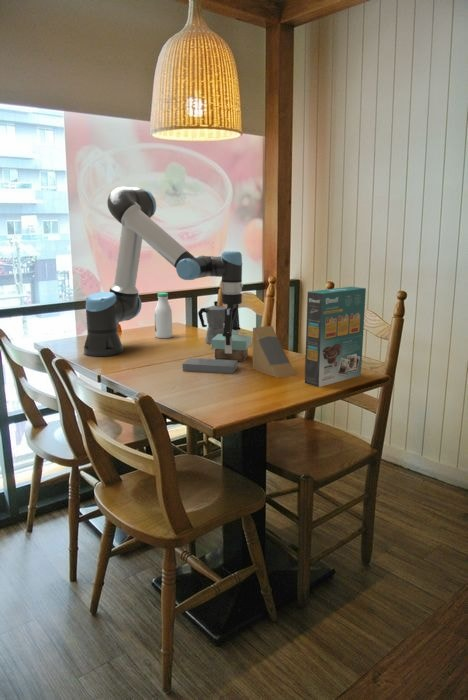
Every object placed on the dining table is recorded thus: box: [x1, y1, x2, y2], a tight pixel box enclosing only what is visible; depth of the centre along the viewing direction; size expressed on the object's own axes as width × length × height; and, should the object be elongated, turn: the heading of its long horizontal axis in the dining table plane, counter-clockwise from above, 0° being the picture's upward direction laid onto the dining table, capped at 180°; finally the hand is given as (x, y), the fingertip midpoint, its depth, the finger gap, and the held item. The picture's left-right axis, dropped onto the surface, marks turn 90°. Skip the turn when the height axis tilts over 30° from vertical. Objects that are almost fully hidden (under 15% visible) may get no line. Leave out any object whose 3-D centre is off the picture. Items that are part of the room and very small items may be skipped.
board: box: [182, 357, 239, 375], centre depth 201 cm, size 18×9×2 cm, turn 79°
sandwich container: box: [252, 325, 297, 379], centre depth 197 cm, size 9×15×15 cm, turn 32°
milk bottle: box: [154, 292, 173, 339], centre depth 253 cm, size 8×8×20 cm
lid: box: [211, 334, 252, 350], centre depth 216 cm, size 13×11×4 cm
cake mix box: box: [304, 286, 367, 388], centre depth 185 cm, size 22×6×30 cm, turn 130°
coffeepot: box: [197, 300, 227, 345], centre depth 242 cm, size 15×9×18 cm, turn 126°
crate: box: [214, 348, 249, 362], centre depth 217 cm, size 11×9×7 cm
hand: (231, 349), depth 217 cm, fingers closed on lid, 11 cm apart
